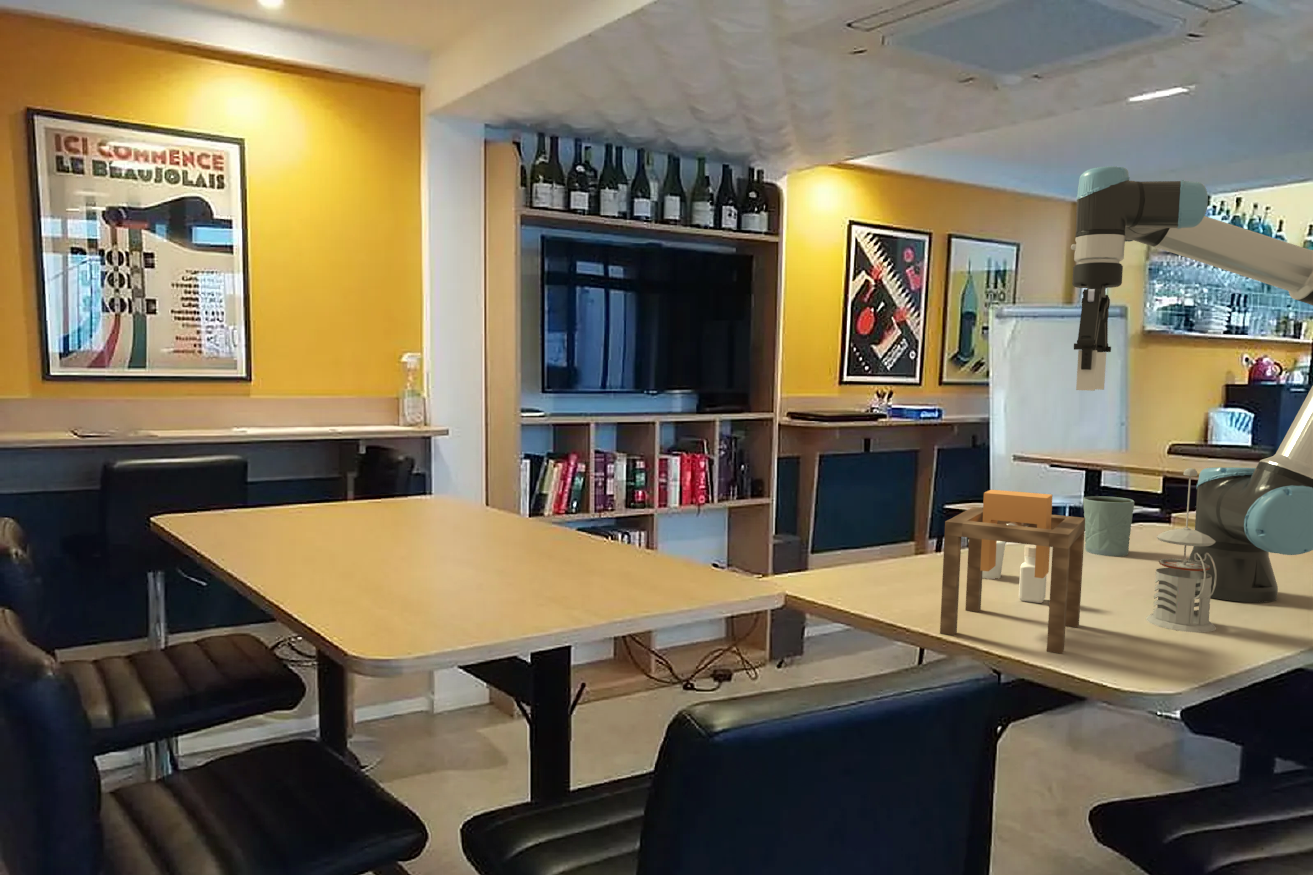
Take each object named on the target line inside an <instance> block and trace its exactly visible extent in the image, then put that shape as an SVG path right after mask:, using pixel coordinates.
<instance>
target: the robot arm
mask: <svg viewBox="0 0 1313 875" xmlns="http://www.w3.org/2000/svg"><path fill="white" fill-rule="evenodd" d="M1075 199H1076V218H1075V219H1076V220H1075V222H1076V223H1075V240H1074V241H1075V243H1073V244H1071V246H1070V250H1072V251H1074V256H1073V257H1074V258H1073V260H1074V262H1075V263H1076V264H1075V265H1074V266H1073V267H1072V268H1073V270H1072V286H1073V288H1079V289H1083V291H1082V298H1081V311H1080V319H1079V327H1078V334H1077V340H1076V343H1073V350H1074V351H1076V350H1077V351H1078V352H1077V356H1078V357H1077V369H1076V370H1077V371H1076V388H1075V390H1076V391H1090V392H1091V391H1092V392H1093V391H1096V390H1098V391H1099V390H1105V382H1106V367H1107V366H1106V362H1107V353H1111V352H1112V346H1109V343H1108V340H1109V339H1108V338H1109V337H1108V336H1109V334H1108V333H1109V332H1108V331H1109V330H1108V329H1109V328H1108V327H1109V316H1110V315H1109V313H1110V312H1109V309H1110V304H1111V299H1110V297H1109V294H1107V293H1106V289H1107V288H1109V289H1110V288H1118V287H1120V286H1122V284H1123V272H1124V265H1123V264H1122V263H1120V262H1122V261H1123V260H1124V259H1125V245H1126V244H1125V243H1126V242H1133V241H1135V242H1136V243H1140V244H1143V245H1147V246H1151V247H1153V248H1157V249H1160V250H1162V251H1166V252H1168V253H1173V254H1176V255H1178V256H1182V257H1184V258H1188V259H1191V260H1194V261H1196V262H1199V263H1203V264H1205V265H1208V266H1212V267H1215V268H1217V269H1221V270H1224V271H1226V272H1230V273H1233V274H1236V275H1239V276H1242V277H1245V278H1248V279H1251V280H1254V281H1256V282H1257V281H1258V282H1260V283H1263V284H1267V285H1269V286H1272V287H1275V288H1278V289H1281V290H1284V291H1288V293H1289V296H1290V298H1292V299H1293V300H1294V301H1299V302H1301V303H1304V304H1308V305H1311V306H1313V249H1309V248H1307V247H1306V248H1305V247H1303V246H1299V245H1296V244H1294V243H1291V242H1286V241H1285V240H1281V239H1278V238H1275V237H1271V236H1268V235H1265V234H1262V233H1259V232H1256V231H1253V230H1249V229H1246V228H1244V227H1240V226H1237V225H1234V224H1230V223H1227V222H1225V221H1221V220H1218V219H1215V218H1212V217H1208V216H1206V213H1207V210H1208V203H1209V202H1208V200H1209V196H1208V191H1207V188H1206V186H1205V185H1204V183H1202V182H1200V181H1189V180H1184V179H1181V180H1172V181H1171V180H1167V181H1166V180H1165V181H1162V180H1160V181H1158V180H1157V181H1156V180H1155V181H1154V180H1153V181H1137V180H1130V176H1129V170H1128V169H1127V168H1125V167H1123V166H1115V165H1114V166H1112V165H1111V166H1099V167H1098V166H1097V167H1094V168H1093V167H1092V168H1088V169H1087V170H1085V171H1083V172H1082V174H1080V176H1079V178H1078V187H1077V195H1076V198H1075ZM1198 474H1199V475H1198V480H1197V483H1196V503H1195V504H1196V505H1195V518H1194V519H1195V520H1194V521H1195V524H1194V530H1196V531H1199V532H1201V533H1203V534H1205V535H1208V536H1210V537H1211V538H1212V539H1213V540H1215V543H1214V544H1213V545H1211V546H1192V549H1191V552H1190V554H1189V557H1188V558H1187V561H1188V560H1189V561H1190V560H1191V561H1193V562H1197V561H1195V559H1194V554H1195V553H1198V554H1199V555H1200V556H1201V558H1202V560H1203V559H1204V558H1205V554H1206V553H1209V555H1210V556H1211V557H1212V559H1213V561H1214V564H1215V567H1216V575H1217V576H1216V586H1215V589H1214V592H1213V594H1212V595H1211V596H1210V599H1211V598H1212V599H1218V600H1223V601H1231V602H1243V603H1267V602H1268V603H1270V602H1274V601H1276V600H1278V590H1279V589H1278V587H1279V586H1278V582H1277V580H1276V576H1275V573H1274V570H1273V566H1272V563H1271V560H1270V556H1269V555H1270V554H1269V553H1271V554H1278V555H1279V554H1280V555H1283V556H1284V555H1285V556H1297V555H1303V554H1306V553H1310V552H1312V551H1313V385H1312V386H1311V388H1310V390H1309V391H1308V394H1307V395H1306V397H1305V399H1304V401H1303V402H1302V405H1301V406H1300V409H1299V410H1298V411H1297V414H1296V415H1295V417H1294V420H1293V421H1292V422H1291V425H1290V427H1289V429H1288V430H1287V432H1286V434H1285V436H1284V438H1283V440H1282V441H1281V443H1280V445H1279V447H1278V449H1277V450H1276V452H1275V454H1273V456H1269V457H1267V458H1263V459H1260V460H1259V461H1258V464H1257V465H1256V467H1222V466H1221V467H1220V466H1219V467H1205V468H1202V470H1200V472H1199V473H1198ZM1196 559H1197V560H1200V558H1199V557H1198V555H1197V554H1196ZM1203 562H1204V563H1206V564H1207V565H1209V566H1210V569H1209V570H1206V573H1208V574H1210V575H1211V576H1212V584H1211V592H1212V590H1213V586H1214V580H1215V572H1214V567H1213V563H1212V561H1211V559H1210V557H1209V556H1208V555H1206V560H1205V561H1203ZM1201 563H1202V562H1201ZM1200 572H1204V571H1200ZM1200 585H1201V583H1196V587H1200ZM1199 594H1200V591H1197V592H1195V595H1199Z"/></svg>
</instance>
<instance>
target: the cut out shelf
mask: <svg viewBox="0 0 1313 875" xmlns="http://www.w3.org/2000/svg"><path fill="white" fill-rule="evenodd" d="M962 538H968V540H969V542H968V547H967V549H968V550H967V567H966V569H967V570H966V571H967V572H966V590H965V611H969V612H974V613H978V612H980V611H981V608H982V606H981V605H982V591H983V590H982V587H983V578H982V572H983V571H981V570H980V568H981V546H982V539H986V540H995V541H1003V542H1006V543H1014V544H1021V545H1022V544H1023V545H1039V546H1047V547H1050V548H1052V552H1051V554H1052V555H1051V568H1050V569H1051V570H1050V571H1051V572H1050V589H1049V607H1048V623H1047V638H1046V639H1047V642H1046V643H1047V644H1046V652H1050V653H1055V654H1060V655H1062V654H1063V653H1064V651H1065V642H1066V641H1065V638H1066V627H1070V628H1071V627H1072V628H1078V627H1079V625H1080V619H1081V616H1080V615H1081V614H1080V613H1081V597H1082V582H1083V579H1082V578H1083V565H1084V564H1083V562H1084V548H1085V546H1084V545H1085V518H1084V517H1082V516H1081V517H1079V516H1069V515H1059V514H1051V529H1042V528H1037V524H1030V523H1020V522H1010V521H999V520H997V524H994V523H984V522H983V507H979V506H978V507H975V506H974V507H973V506H972V507H971V508H968V509H967V510H964V511H962V512H960V513H959V514H957V515H955V516H953V517H952V518H950V519H947V520H945V521H944V540H943V541H944V543H943V544H944V545H943V559H942V560H943V561H942V562H943V563H942V579H941V580H942V584H941V585H942V586H941V604H940V605H941V607H940V623H939V624H940V626H939V628H940V629H939V634H943V635H948V636H955V635H956V634H957V632H958V614H959V613H958V612H959V598H960V597H959V596H960V595H959V594H960V578H961V577H960V576H961V572H960V571H961V552H962Z"/></svg>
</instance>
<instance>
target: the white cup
mask: <svg viewBox="0 0 1313 875" xmlns="http://www.w3.org/2000/svg"><path fill="white" fill-rule="evenodd" d="M968 543H969V539H968ZM1006 543H1007V542H1003V541H997V542H996V564H995V567H993V568H992V569H991V570H990V571H983V572H982V579H983V578H987V579H986V580H996V579H995V578H998V579H1000V578H1001V575H1002V569H1003V562H1004V555H1005V549H1006Z"/></svg>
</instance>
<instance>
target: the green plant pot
mask: <svg viewBox="0 0 1313 875" xmlns="http://www.w3.org/2000/svg"><path fill="white" fill-rule="evenodd" d="M1082 501H1083V502H1082V503H1083V512H1084V513H1083V516H1084V517H1083V518H1085V533H1084V545H1085V546H1084V548H1085V551H1086V552H1087V553H1090V554H1092V555H1096V556H1097V555H1098V556H1105V557H1107V556H1108V557H1126V556H1128V555H1129V548H1130V537H1131V531H1132V529H1131V528H1132V523H1133V515H1134V508H1135V501H1134V500H1133V499H1131V498H1126V497H1119V496H1118V497H1117V496H1104V495H1103V496H1102V495H1101V496H1100V495H1095V496H1092V495H1091V496H1084V497H1083V498H1082Z"/></svg>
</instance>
